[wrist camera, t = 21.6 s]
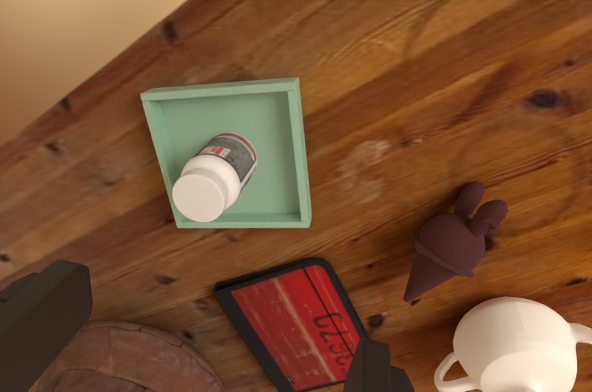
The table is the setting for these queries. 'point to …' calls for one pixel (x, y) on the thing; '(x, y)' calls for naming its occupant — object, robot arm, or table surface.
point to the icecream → (453, 241)
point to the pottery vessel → (128, 362)
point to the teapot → (514, 349)
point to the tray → (251, 125)
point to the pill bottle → (215, 177)
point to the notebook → (295, 323)
